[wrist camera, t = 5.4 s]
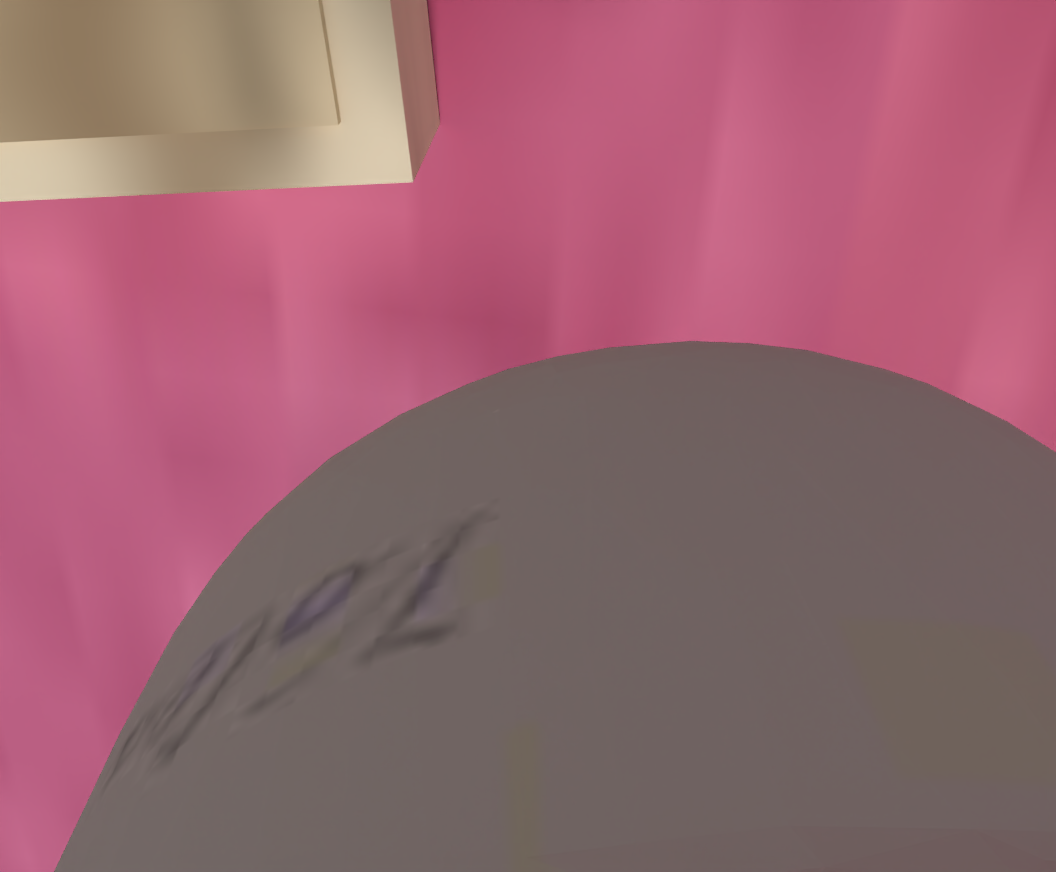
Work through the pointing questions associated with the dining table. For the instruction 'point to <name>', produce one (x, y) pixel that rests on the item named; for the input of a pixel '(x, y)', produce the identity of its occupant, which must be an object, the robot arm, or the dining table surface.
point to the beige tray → (211, 95)
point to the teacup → (620, 639)
